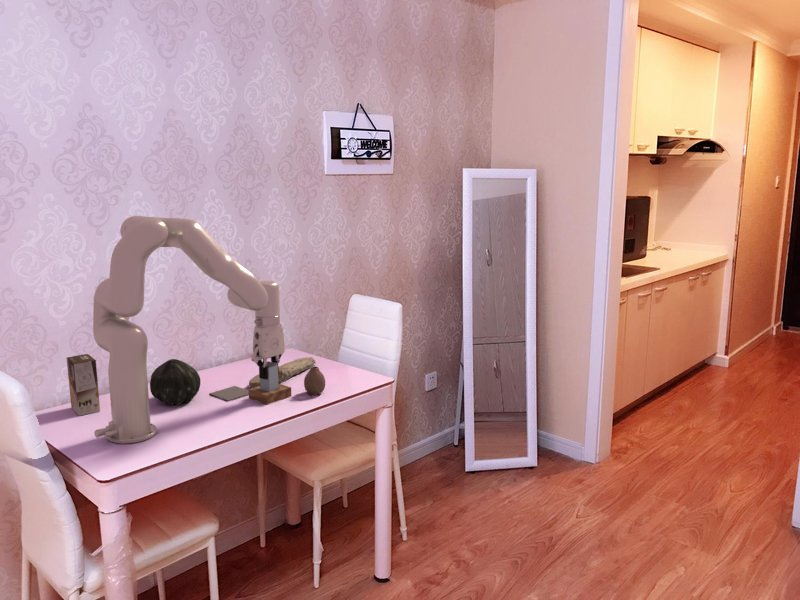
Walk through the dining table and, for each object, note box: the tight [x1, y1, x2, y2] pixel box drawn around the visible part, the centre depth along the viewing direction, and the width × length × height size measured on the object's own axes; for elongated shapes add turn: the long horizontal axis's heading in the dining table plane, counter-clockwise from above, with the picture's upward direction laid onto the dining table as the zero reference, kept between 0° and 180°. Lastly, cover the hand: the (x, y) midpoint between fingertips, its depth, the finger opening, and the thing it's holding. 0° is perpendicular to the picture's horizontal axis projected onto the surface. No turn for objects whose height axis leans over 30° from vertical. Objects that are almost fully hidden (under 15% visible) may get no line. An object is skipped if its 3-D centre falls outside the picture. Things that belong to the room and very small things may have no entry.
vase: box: [303, 366, 326, 396], centre depth 211 cm, size 7×7×9 cm
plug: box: [260, 360, 279, 392], centre depth 206 cm, size 4×4×8 cm
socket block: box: [247, 383, 292, 405], centre depth 207 cm, size 10×9×3 cm
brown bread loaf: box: [248, 356, 316, 389], centre depth 229 cm, size 35×5×10 cm
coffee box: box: [66, 353, 101, 417], centre depth 194 cm, size 9×6×16 cm
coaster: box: [208, 385, 249, 402], centre depth 210 cm, size 10×10×1 cm
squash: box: [149, 358, 201, 406], centre depth 202 cm, size 14×15×15 cm
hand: (268, 376), depth 206 cm, fingers closed on plug, 4 cm apart
